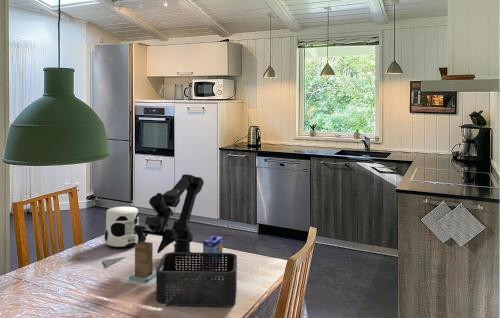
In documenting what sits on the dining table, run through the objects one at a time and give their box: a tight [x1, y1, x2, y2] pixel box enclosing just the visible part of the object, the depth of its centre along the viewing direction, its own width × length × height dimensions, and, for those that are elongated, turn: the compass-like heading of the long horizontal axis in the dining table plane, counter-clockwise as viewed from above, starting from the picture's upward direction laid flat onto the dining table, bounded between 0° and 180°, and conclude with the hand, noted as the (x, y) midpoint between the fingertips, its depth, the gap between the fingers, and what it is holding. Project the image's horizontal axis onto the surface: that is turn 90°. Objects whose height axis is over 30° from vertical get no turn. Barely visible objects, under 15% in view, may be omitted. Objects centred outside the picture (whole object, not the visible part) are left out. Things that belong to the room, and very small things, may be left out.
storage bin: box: [155, 251, 238, 308], centre depth 153 cm, size 29×19×13 cm
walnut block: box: [134, 241, 154, 278], centre depth 165 cm, size 5×5×14 cm
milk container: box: [104, 206, 139, 249], centre depth 206 cm, size 17×17×18 cm
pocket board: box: [118, 270, 156, 288], centre depth 166 cm, size 14×14×2 cm
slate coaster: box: [102, 256, 126, 269], centre depth 182 cm, size 10×10×1 cm
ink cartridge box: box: [202, 233, 224, 268], centre depth 182 cm, size 10×6×14 cm, turn 158°
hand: (148, 251), depth 168 cm, fingers open, 9 cm apart
